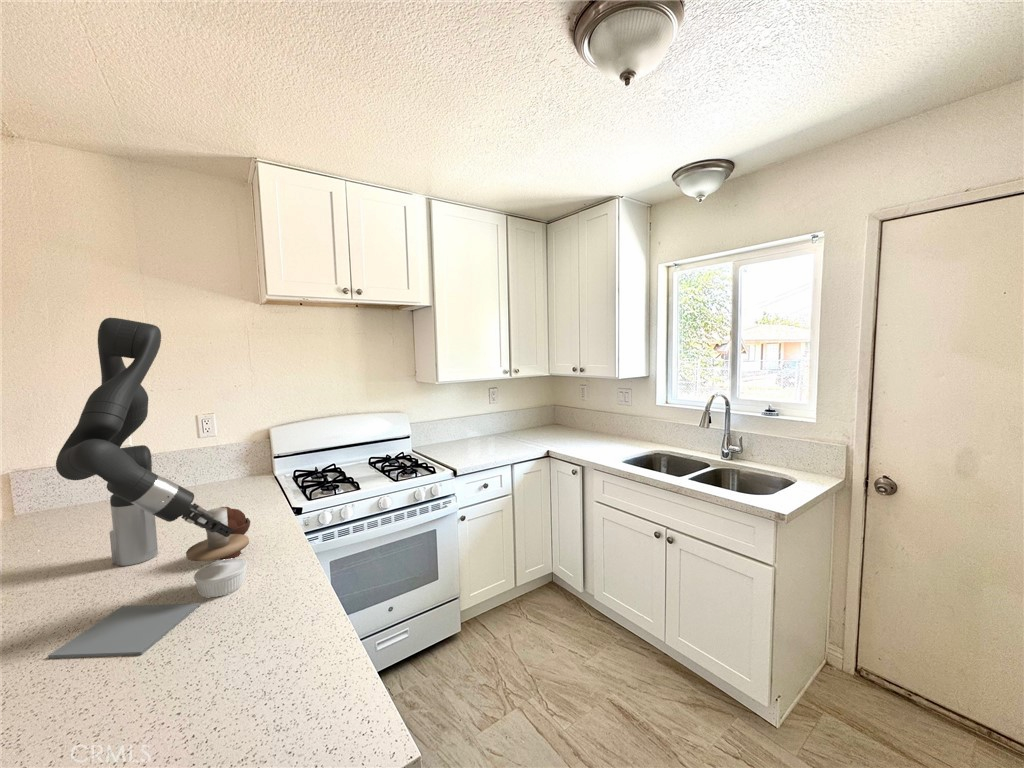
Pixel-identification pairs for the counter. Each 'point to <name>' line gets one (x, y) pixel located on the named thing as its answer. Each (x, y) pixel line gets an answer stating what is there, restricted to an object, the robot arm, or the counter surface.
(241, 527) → the ice cream bowl
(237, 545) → the lid
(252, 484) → the counter surface
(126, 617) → the mat
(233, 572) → the ramekin
